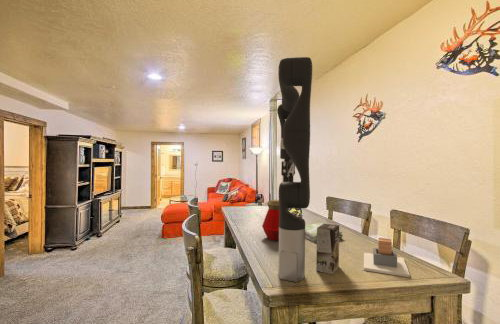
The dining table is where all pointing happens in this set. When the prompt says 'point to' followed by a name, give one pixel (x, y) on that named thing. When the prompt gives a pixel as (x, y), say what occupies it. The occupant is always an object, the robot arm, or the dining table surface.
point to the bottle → (272, 221)
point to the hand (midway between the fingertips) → (288, 184)
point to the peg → (385, 246)
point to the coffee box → (327, 248)
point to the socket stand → (385, 263)
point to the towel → (315, 232)
